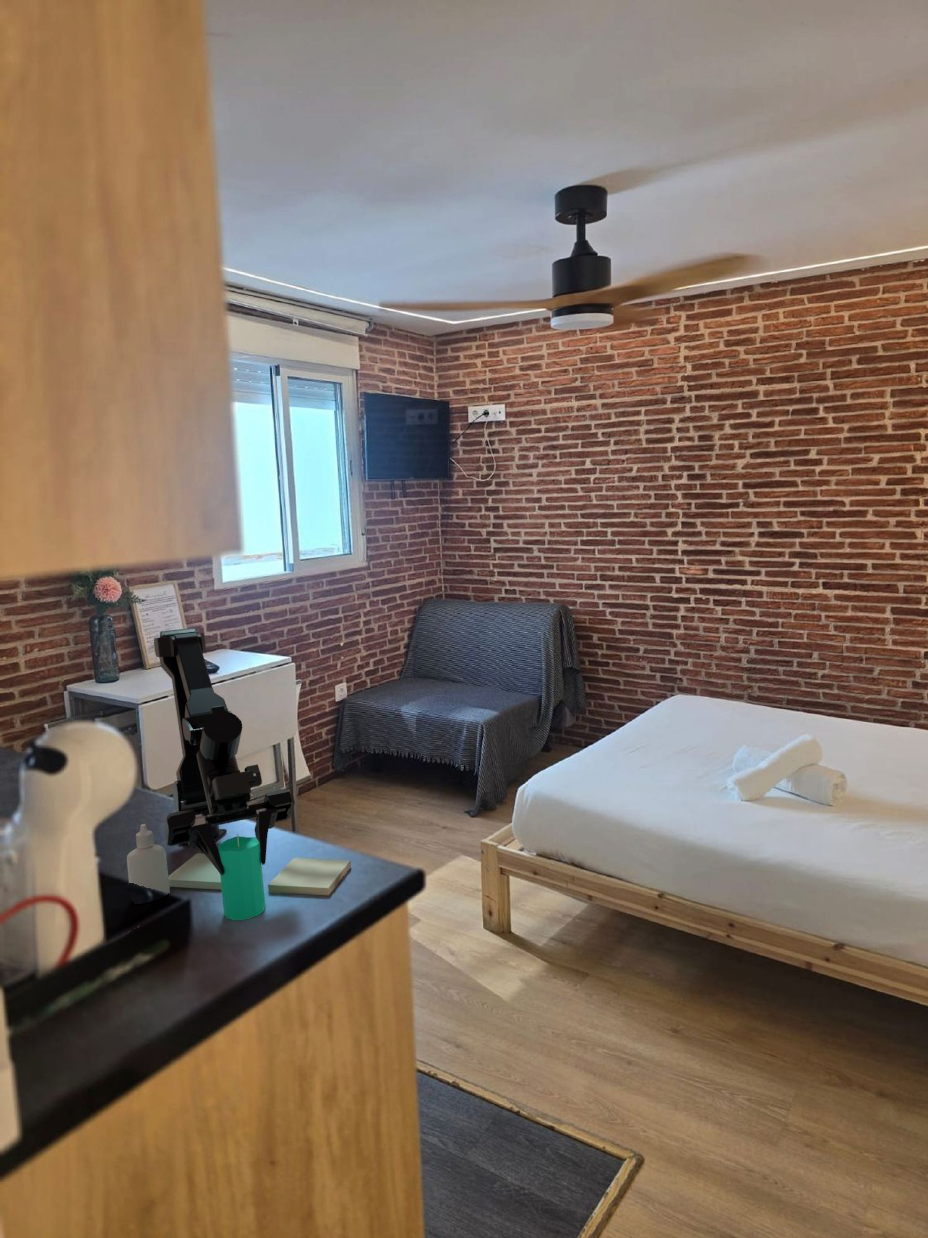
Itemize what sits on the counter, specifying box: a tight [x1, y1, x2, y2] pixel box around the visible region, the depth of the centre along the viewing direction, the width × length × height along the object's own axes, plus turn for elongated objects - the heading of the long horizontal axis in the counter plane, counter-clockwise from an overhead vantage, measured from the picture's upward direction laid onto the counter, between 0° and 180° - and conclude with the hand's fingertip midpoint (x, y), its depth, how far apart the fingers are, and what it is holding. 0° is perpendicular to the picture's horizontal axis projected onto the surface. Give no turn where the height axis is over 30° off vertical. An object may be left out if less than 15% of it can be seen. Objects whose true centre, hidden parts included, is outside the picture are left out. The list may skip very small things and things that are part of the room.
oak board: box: [267, 857, 352, 896], centre depth 132 cm, size 10×10×1 cm
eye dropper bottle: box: [126, 823, 171, 894], centre depth 127 cm, size 4×6×12 cm
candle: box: [217, 833, 266, 921], centre depth 122 cm, size 6×6×12 cm
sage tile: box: [168, 853, 222, 891], centre depth 136 cm, size 10×10×1 cm
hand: (243, 868), depth 120 cm, fingers closed on candle, 6 cm apart
